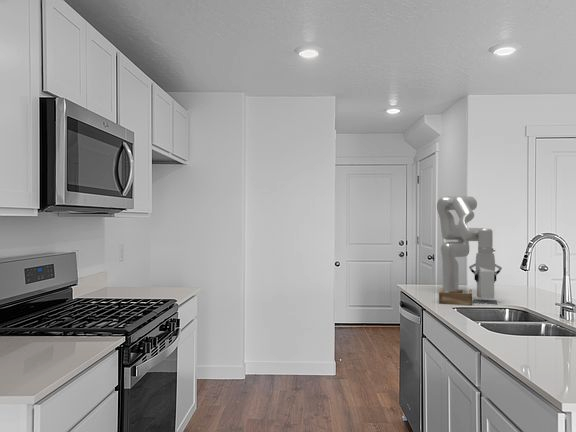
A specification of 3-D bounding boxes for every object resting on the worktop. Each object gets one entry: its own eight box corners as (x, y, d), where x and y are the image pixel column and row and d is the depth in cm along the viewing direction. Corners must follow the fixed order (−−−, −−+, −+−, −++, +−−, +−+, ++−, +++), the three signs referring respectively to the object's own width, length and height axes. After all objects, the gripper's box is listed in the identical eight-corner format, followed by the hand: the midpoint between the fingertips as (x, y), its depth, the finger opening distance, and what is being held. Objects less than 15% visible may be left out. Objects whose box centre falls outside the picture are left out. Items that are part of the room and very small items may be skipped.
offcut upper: (448, 296, 283) (448, 291, 283) (455, 294, 291) (455, 289, 291) (455, 297, 281) (455, 292, 281) (462, 295, 288) (462, 290, 288)
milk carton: (494, 298, 275) (494, 264, 275) (481, 298, 276) (481, 263, 276) (489, 296, 282) (489, 262, 283) (476, 296, 283) (476, 262, 283)
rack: (440, 298, 291) (440, 288, 291) (471, 300, 285) (471, 289, 285) (439, 303, 275) (438, 292, 275) (472, 305, 269) (472, 294, 269)
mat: (473, 299, 287) (473, 299, 287) (496, 300, 283) (496, 300, 283) (473, 303, 275) (473, 302, 275) (497, 304, 271) (497, 303, 271)
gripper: (501, 250, 280) (501, 281, 280) (468, 250, 286) (468, 280, 286) (502, 251, 273) (502, 283, 273) (468, 250, 279) (468, 282, 279)
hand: (485, 281), depth 279 cm, fingers closed on milk carton, 8 cm apart
